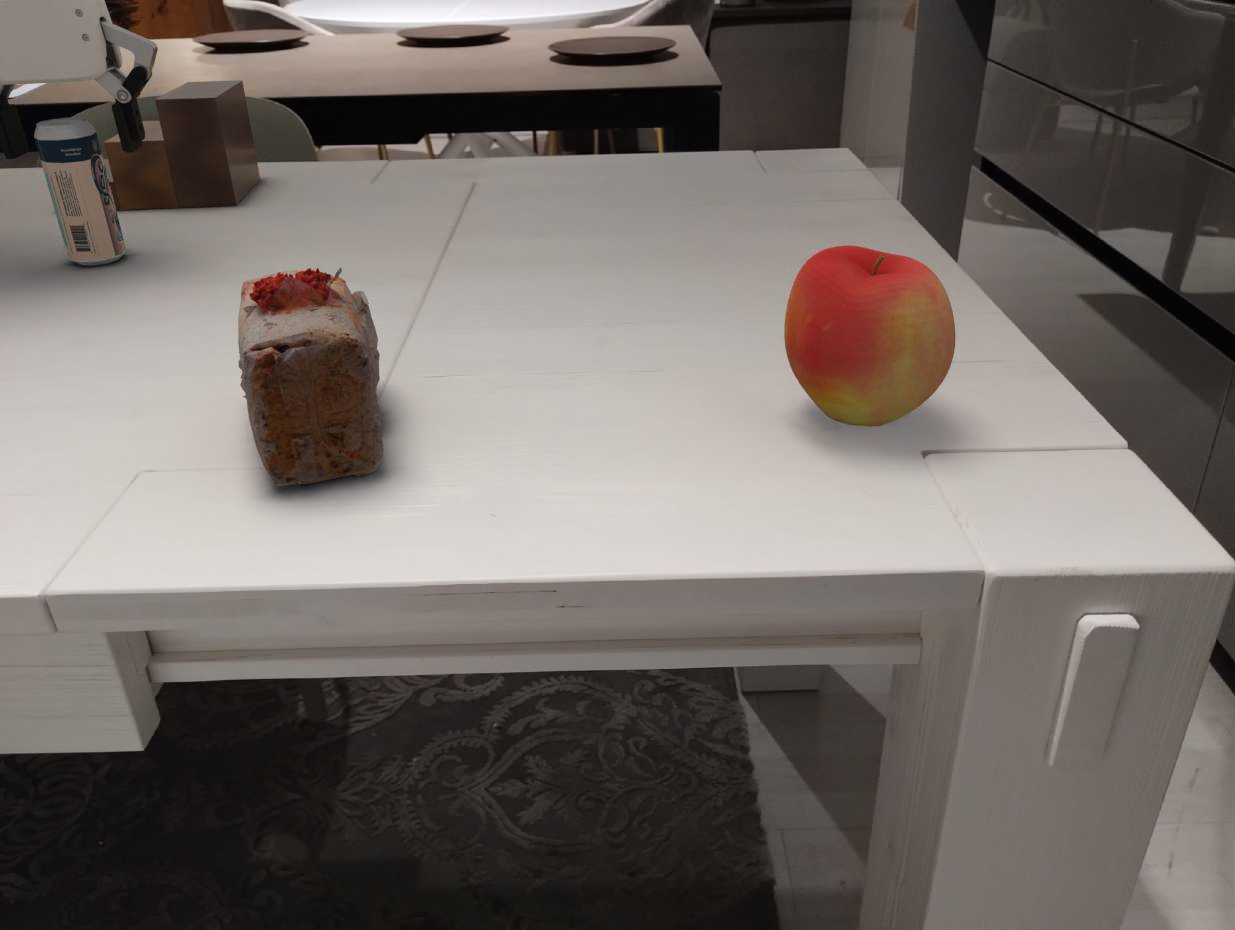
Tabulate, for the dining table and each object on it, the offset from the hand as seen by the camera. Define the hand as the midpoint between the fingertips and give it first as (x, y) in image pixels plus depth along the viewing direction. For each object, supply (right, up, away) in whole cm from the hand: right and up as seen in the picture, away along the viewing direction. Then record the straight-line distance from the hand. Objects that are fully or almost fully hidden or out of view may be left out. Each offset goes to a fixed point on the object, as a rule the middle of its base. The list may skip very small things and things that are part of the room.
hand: (76, 152), depth 87 cm
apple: (+61, -24, -26) cm, 71 cm away
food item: (+29, -25, -27) cm, 47 cm away
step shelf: (-4, +3, +25) cm, 26 cm away
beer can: (0, -8, +5) cm, 10 cm away
